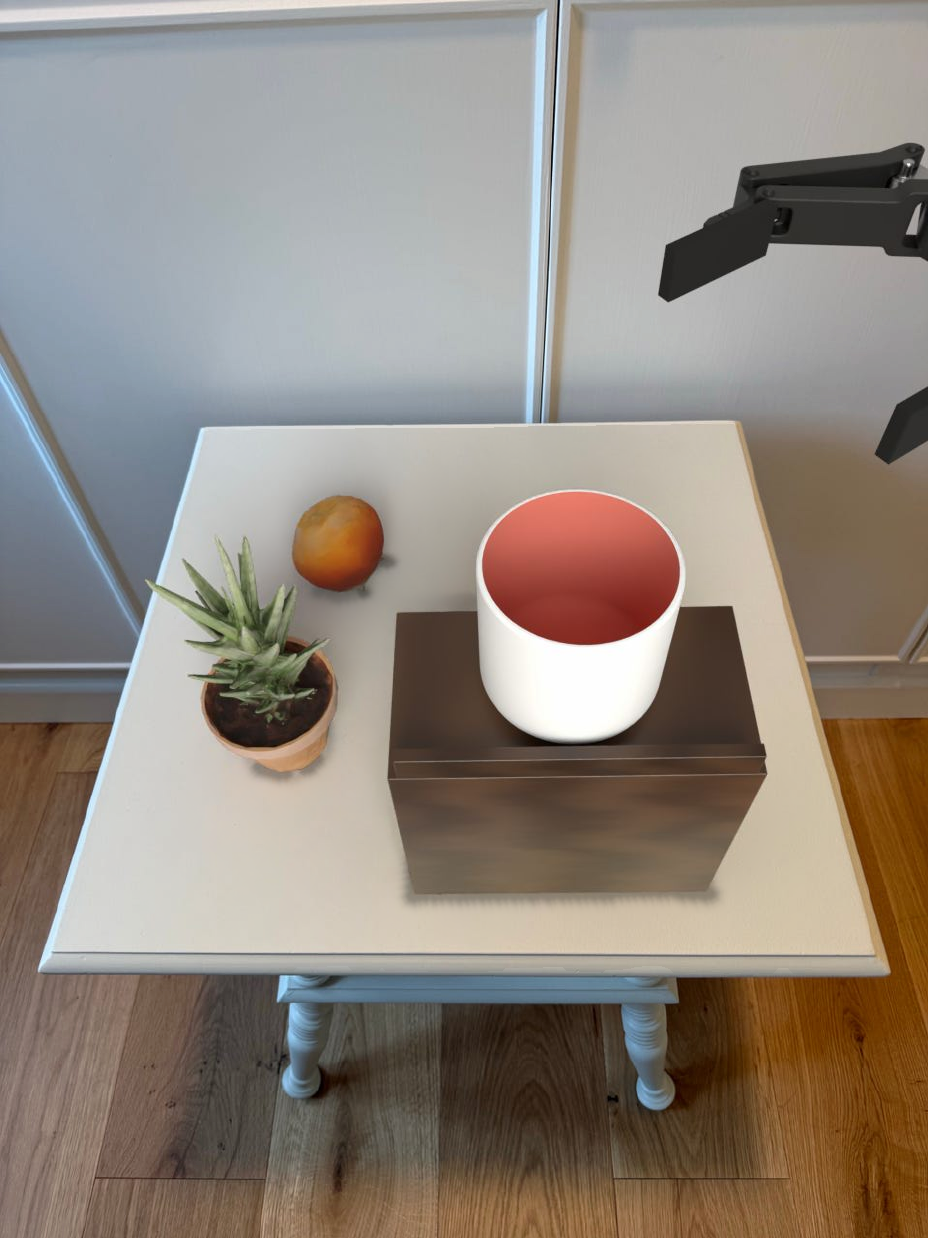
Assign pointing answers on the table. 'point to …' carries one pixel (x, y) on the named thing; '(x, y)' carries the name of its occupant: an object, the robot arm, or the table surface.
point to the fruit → (338, 543)
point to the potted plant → (259, 670)
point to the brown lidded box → (569, 771)
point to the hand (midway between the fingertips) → (769, 348)
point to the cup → (576, 613)
